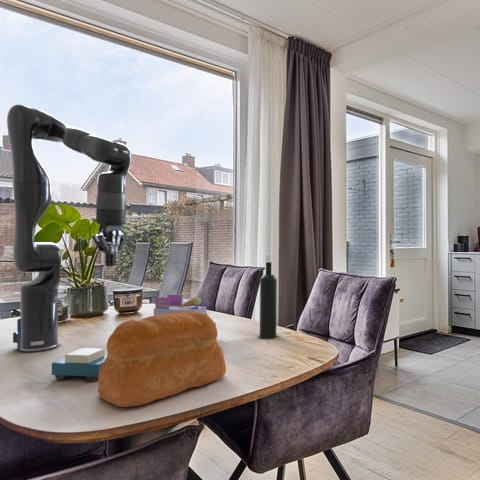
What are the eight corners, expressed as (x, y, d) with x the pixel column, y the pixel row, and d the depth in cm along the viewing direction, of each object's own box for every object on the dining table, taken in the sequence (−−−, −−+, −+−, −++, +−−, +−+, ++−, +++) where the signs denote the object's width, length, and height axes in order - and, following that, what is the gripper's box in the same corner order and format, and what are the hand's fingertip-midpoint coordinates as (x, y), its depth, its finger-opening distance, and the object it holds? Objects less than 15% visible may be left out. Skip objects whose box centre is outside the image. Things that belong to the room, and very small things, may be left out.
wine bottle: (277, 334, 149) (278, 252, 148) (274, 338, 143) (275, 253, 143) (261, 334, 149) (262, 252, 148) (258, 338, 143) (258, 253, 142)
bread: (232, 378, 103) (232, 310, 103) (123, 415, 82) (124, 329, 82) (196, 366, 113) (196, 304, 112) (90, 396, 91) (90, 319, 91)
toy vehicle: (202, 345, 134) (203, 299, 133) (150, 341, 138) (150, 297, 137) (218, 338, 143) (218, 295, 142) (168, 334, 147) (168, 293, 146)
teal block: (72, 370, 108) (51, 380, 101) (73, 347, 108) (51, 355, 101) (116, 372, 107) (98, 381, 100) (116, 348, 107) (98, 356, 100)
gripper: (113, 209, 129) (113, 264, 129) (82, 206, 115) (82, 267, 116) (136, 209, 128) (136, 264, 129) (108, 207, 115) (107, 268, 115)
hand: (110, 266), depth 122 cm, fingers closed
